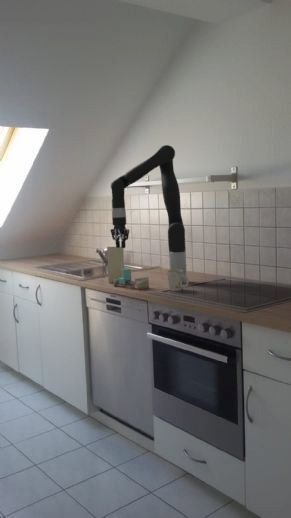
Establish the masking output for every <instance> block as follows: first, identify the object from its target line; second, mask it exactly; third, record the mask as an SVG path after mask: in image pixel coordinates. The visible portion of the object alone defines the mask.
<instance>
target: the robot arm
mask: <svg viewBox="0 0 291 518" xmlns="http://www.w3.org/2000/svg"><path fill="white" fill-rule="evenodd" d="M175 156H176V150H175V149H174V147H173V146H171V145H169V144H168V145H167V144H165V145H162V146H161V147H159V148H158V149H157V151H156V152H154V154H153V155H152V156H150V157H149V158H147V159H146V160H144V161H142V162H140V163H139V164H137V165H135V166H134V167H132V168H131V169H129V170H127V171H126V172H125V173H124V174H123V175H121V176H119V177H117V178H116V179H114V180H113V181H111V183H110V189H111V197H112V198H111V218H112V221H111V222H112V226H113V228H112V229H110V234H111V237H112V240H113V241H114V242H115V245H116V248H119V247H120V245H121V247H122V248H123V249H125V248H126V241H128V240H129V235H130V229H127V228H126V225H127V211H126V202H125V189H126V188H128V187H129V186H130V185H133V184H134V183H136V182H138V181H139V180H140V179H142V178H144V177H145V176H146V175H148V173H150V172H152V171H153V170H154V169H156V168H158V167H159V170H160V176H161V177H160V178H161V181H160V182H161V190H162V197H163V202H164V206H165V210H166V213H167V217H168V219H167V220H168V221H167V222H168V229H167V241H168V243H167V244H168V259H169V261H168V263H169V270H183V275H185V276H187V277H188V274H187V273H188V272H187V271H188V269H187V258H186V233H185V232H186V229H185V225H184V223H183V222H184V220H183V218H182V214H181V213H182V212H181V211H182V210H181V209H182V208H181V194H180V188H179V187H180V186H179V183H178V180H177V177H176V175H175V171H174V158H175ZM120 240H121V241H120ZM182 284H186V279H185V278H184V277H183V281H182Z"/></svg>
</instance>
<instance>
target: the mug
mask: <svg viewBox="0 0 291 518" xmlns="http://www.w3.org/2000/svg"><path fill="white" fill-rule="evenodd" d="M166 275H167V281H168V287H169V290H170V291H171V292H179V291H182V290H183V289H185V288H187V287H188V286H189V282H190V281H189V278H188V275H187V276H185V275H183V270H170V269H169V270H167V271H166ZM183 277H184V278H185V279H186V283H185V285H184V286H183V283H182V281H183Z"/></svg>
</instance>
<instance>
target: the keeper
mask: <svg viewBox="0 0 291 518" xmlns="http://www.w3.org/2000/svg"><path fill="white" fill-rule="evenodd" d="M118 280H119V284H126V281H127V280H129V281H132V271H131V268H126V269H125V268H124V270H123V278H118Z"/></svg>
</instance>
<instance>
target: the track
mask: <svg viewBox="0 0 291 518" xmlns="http://www.w3.org/2000/svg"><path fill="white" fill-rule="evenodd" d="M113 281H114V283H113V287H116V288H120V289H121V288H123V289H126V290H127V289H129V290H135V291H141V290H144V289H149V288H150V284H149V283H150V282H149V276H141V277H135V278H134V280H131V281H129V280H127V281H126V284H119V280H118V279H115V280H113Z"/></svg>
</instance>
